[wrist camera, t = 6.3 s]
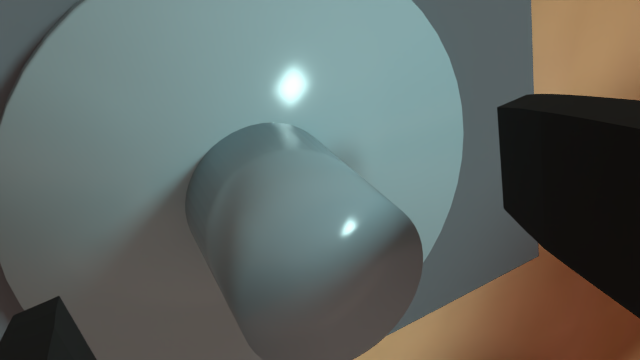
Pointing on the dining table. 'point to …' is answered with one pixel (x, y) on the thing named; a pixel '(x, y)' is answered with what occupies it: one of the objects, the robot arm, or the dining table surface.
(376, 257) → the lid
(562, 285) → the dining table surface
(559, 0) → the dining table surface
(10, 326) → the robot arm
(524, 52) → the mat
